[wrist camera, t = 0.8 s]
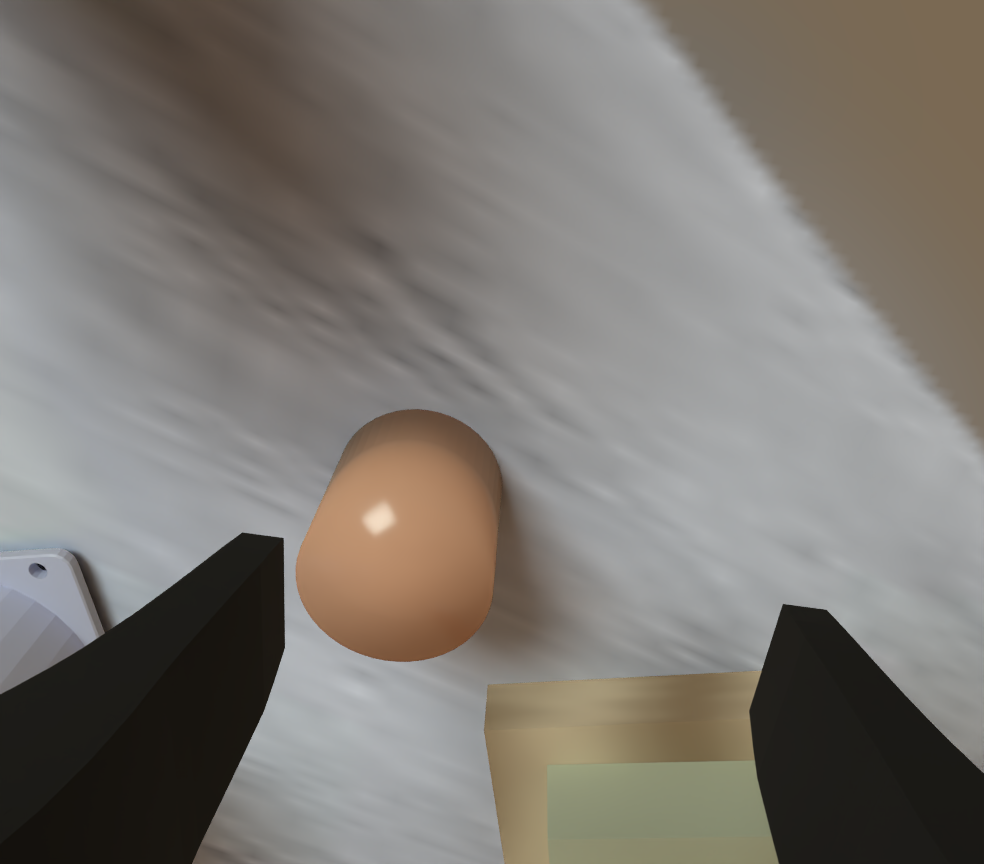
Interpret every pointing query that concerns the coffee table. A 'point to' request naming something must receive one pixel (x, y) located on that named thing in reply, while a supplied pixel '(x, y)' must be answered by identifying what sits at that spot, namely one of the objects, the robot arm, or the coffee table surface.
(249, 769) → the coffee table surface
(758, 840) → the sage slab
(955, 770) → the robot arm
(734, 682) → the maple slab
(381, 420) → the peach domed cylinder
